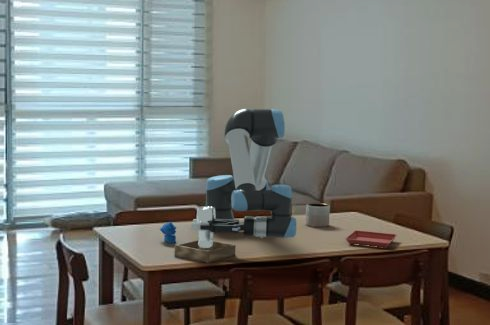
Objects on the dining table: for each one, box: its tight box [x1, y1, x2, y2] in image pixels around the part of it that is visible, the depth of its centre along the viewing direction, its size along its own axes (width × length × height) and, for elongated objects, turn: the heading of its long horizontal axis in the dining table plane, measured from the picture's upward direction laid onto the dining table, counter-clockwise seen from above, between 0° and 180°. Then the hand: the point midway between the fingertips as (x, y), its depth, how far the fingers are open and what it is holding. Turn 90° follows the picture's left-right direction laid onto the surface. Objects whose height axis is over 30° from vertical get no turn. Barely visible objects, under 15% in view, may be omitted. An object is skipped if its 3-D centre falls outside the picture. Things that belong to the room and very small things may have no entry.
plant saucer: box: [345, 230, 398, 249], centre depth 313 cm, size 18×18×3 cm
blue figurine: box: [159, 221, 177, 244], centre depth 304 cm, size 7×8×11 cm
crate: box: [174, 239, 236, 264], centre depth 282 cm, size 16×16×4 cm
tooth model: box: [196, 205, 215, 249], centre depth 281 cm, size 7×7×15 cm
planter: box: [305, 202, 331, 228], centre depth 349 cm, size 11×11×10 cm
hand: (192, 224), depth 281 cm, fingers closed on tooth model, 7 cm apart
